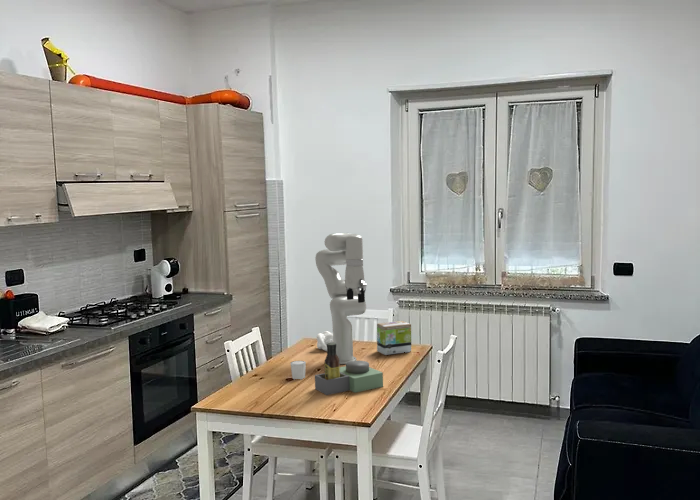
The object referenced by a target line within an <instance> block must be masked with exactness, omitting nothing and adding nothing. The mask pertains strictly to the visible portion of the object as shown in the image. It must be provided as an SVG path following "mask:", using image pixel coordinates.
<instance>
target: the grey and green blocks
mask: <svg viewBox="0 0 700 500" xmlns="http://www.w3.org/2000/svg"><path fill="white" fill-rule="evenodd" d="M383 387H384V372H382V371H381V370H378V369H376V368H372V367H370V363H369V362H368V361H366V360H356V361H350V362H347V363H346V364H345V366H340V377H339V378H334V379H329V380H326V379H325V372H324V373H317V374H315V375H314V388H315V390H316V391H319V392H320V393H322V394H323V393H324V395H325V396H330V395H333V394H339V393H344V392H348V391H351V392H352V393H354V394H355V393H359V392H364V391H369V390H370V391H371V390H373V389H379V388H383Z"/></svg>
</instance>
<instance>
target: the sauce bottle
mask: <svg viewBox="0 0 700 500" xmlns="http://www.w3.org/2000/svg"><path fill="white" fill-rule="evenodd" d="M340 367H341V364H339V358H338V356H337V354H336V343H334V342H330V343H327V351H326V357H325V359H324V373H325V379H326V380H329V379H334V378H339V377H340Z"/></svg>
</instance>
